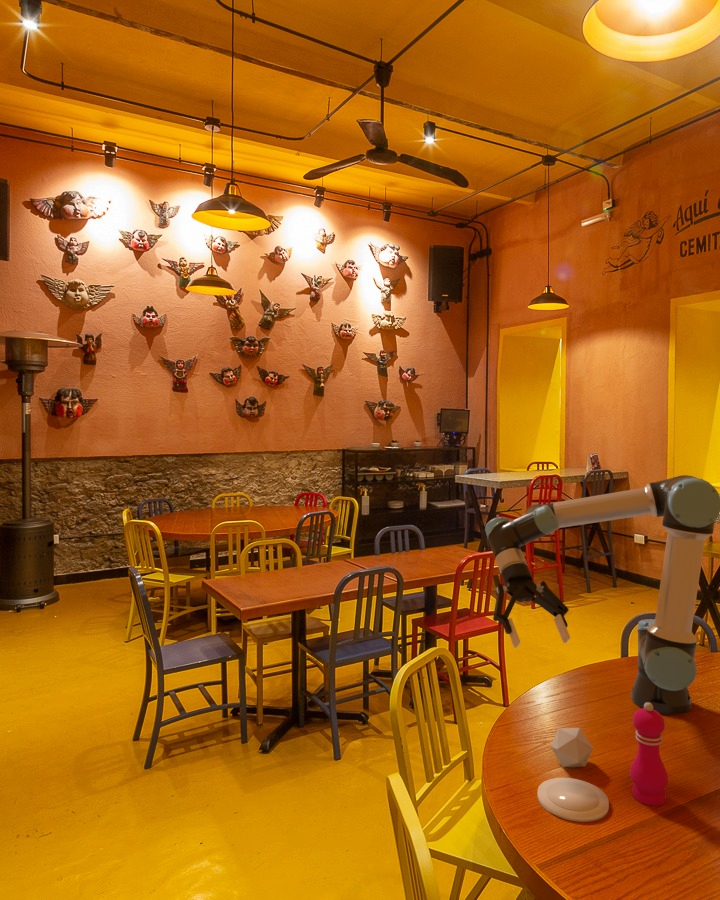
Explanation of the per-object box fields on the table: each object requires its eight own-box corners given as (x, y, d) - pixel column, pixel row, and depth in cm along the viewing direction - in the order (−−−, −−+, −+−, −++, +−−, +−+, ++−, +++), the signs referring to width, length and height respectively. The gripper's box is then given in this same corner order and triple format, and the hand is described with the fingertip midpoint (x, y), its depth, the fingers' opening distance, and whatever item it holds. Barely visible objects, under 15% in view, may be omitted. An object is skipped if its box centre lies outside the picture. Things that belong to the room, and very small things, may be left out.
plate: (582, 778, 138) (582, 772, 138) (623, 815, 124) (623, 809, 124) (525, 787, 135) (525, 782, 135) (560, 826, 121) (560, 821, 121)
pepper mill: (666, 811, 125) (665, 713, 125) (627, 800, 129) (626, 705, 129) (670, 793, 131) (669, 699, 131) (633, 784, 135) (632, 692, 135)
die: (586, 781, 138) (603, 739, 141) (551, 759, 139) (568, 718, 142) (574, 775, 146) (590, 736, 148) (540, 754, 147) (557, 716, 150)
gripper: (550, 574, 174) (581, 645, 160) (466, 579, 168) (491, 654, 154) (560, 559, 169) (593, 631, 155) (474, 564, 163) (500, 639, 149)
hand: (542, 642), depth 154 cm, fingers open, 13 cm apart
